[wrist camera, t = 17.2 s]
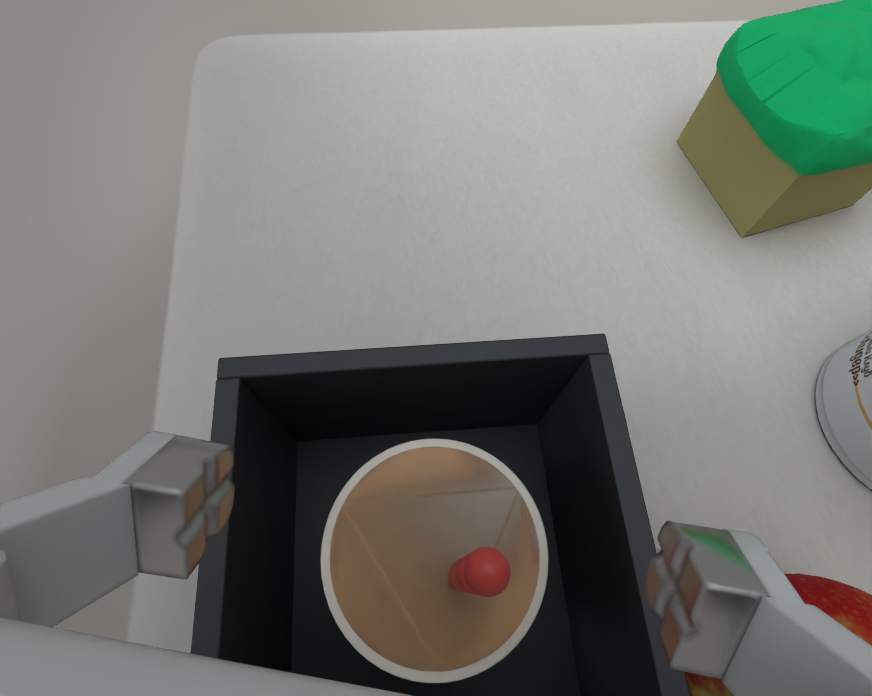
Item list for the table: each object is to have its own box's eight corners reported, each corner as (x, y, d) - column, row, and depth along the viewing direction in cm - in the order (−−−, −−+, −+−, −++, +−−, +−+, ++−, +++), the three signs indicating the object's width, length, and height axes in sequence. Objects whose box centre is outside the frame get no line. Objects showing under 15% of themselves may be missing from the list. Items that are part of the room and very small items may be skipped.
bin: (285, 431, 27) (217, 357, 18) (546, 412, 28) (605, 332, 19) (274, 755, 22) (168, 879, 13) (599, 721, 22) (718, 816, 13)
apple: (632, 606, 24) (724, 617, 17) (791, 551, 25) (942, 539, 18) (717, 819, 21) (874, 946, 14) (893, 745, 22) (1124, 826, 15)
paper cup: (329, 570, 24) (170, 552, 9) (423, 462, 26) (424, 296, 11) (438, 677, 22) (471, 880, 7) (528, 553, 24) (702, 507, 9)
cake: (649, 138, 36) (727, -13, 27) (782, 105, 37) (899, -49, 28) (724, 254, 32) (845, 124, 23) (868, 212, 34) (1035, 74, 25)
